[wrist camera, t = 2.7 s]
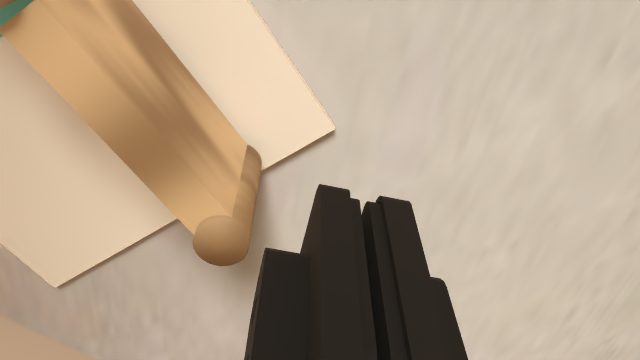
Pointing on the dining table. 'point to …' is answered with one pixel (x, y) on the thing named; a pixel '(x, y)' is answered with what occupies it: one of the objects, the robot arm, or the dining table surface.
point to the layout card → (104, 164)
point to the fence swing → (147, 114)
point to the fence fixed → (5, 2)
